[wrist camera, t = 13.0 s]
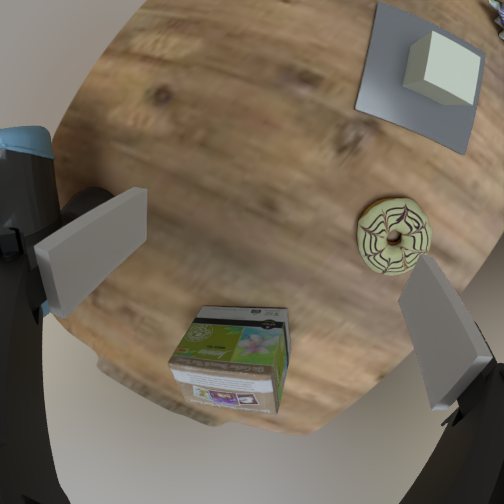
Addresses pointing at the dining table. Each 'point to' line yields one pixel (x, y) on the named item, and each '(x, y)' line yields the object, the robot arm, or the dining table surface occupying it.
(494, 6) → the passion flower
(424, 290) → the robot arm
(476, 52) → the slate plate
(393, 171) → the dining table surface
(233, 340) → the tea box
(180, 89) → the dining table surface
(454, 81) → the sage block
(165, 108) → the dining table surface
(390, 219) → the decorated donut
